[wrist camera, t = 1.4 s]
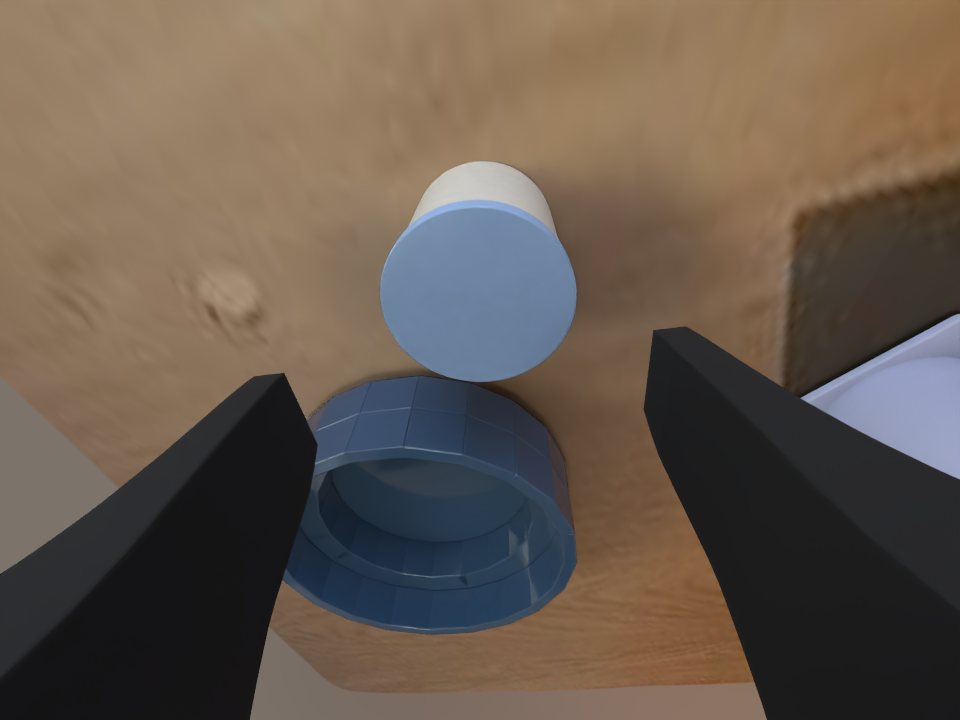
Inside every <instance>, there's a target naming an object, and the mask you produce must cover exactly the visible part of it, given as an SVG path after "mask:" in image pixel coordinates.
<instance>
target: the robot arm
mask: <svg viewBox="0 0 960 720" xmlns="http://www.w3.org/2000/svg"><path fill="white" fill-rule="evenodd" d="M644 412H645V415H646V418H647V422H648V425H649V428H650V431H651V434H652V437H653V440H654V443H655V446H656V449H657V452H658V455H659V457H660V459H661V461H662V463H663V466H664V468H665V470H666V472H667V474H668V476H669V478H670V480H671V482H672V485H673V487H674V489H675V491H676V493H677V495H678V497H679V499H680V501H681V503H682V505H683V507H684V509H685V511H686V514H687V516H688V518H689V520H690V522H691V524H692V526H693V528H694V530H695V532H696V534H697V536H698V538H699V540H700V542H701V545H702V547H703V549H704V551H705V553H706V555H707V557H708V559H709V561H710V564H711V566H712V568H713V571H714V573H715V575H716V577H717V580H718V582H719V584H720V587H721V590H722V592H723V595H724V598H725V601H726V603H727V606H728V609H729V611H730V614H731V617H732V620H733V622H734V625H735V628H736V631H737V633H738V636H739V639H740V641H741V644H742V647H743V650H744V653H745V656H746V659H747V662H748V665H749V667H750V670H751V673H752V676H753V679H754V682H755V684H756V687H757V690H758V693H759V696H760V699H761V702H762V705H763V708H764V711H765V715H766V718H767V720H960V314H957V315H954V316H952V317H950V318H948V319H946V320H944V321H943V322H941V323H939V324H937V325H935V326H933V327H931V328H930V329H928V330H926V331H924V332H922V333H920V334H918V335H917V336H915V337H913V338H911V339H909V340H907V341H905V342H904V343H902V344H900V345H898V346H896V347H894V348H892V349H891V350H889V351H887V352H885V353H883V354H881V355H879V356H878V357H876V358H874V359H872V360H870V361H868V362H866V363H865V364H863V365H861V366H859V367H857V368H855V369H853V370H852V371H850V372H848V373H846V374H844V375H842V376H840V377H839V378H837V379H835V380H833V381H831V382H829V383H827V384H826V385H824V386H822V387H820V388H818V389H816V390H814V391H813V392H811V393H809V394H807V395H805V396H803V397H801V398H799V397H798V396H796V395H794V394H793V393H791V392H789V391H788V390H786V389H784V388H783V387H781V386H780V385H778V384H776V383H775V382H773V381H771V380H770V379H768V378H767V377H765V376H763V375H762V374H760V373H759V372H757V371H756V370H754V369H752V368H751V367H749V366H748V365H746V364H745V363H743V362H741V361H740V360H738V359H737V358H735V357H734V356H732V355H731V354H729V353H728V352H726V351H725V350H723V349H721V348H720V347H718V346H717V345H715V344H714V343H712V342H711V341H709V340H708V339H706V338H704V337H703V336H701V335H700V334H698V333H696V332H695V331H693V330H691V329H690V328H688V327H678V328H669V329H660V330H653V338H652V346H651V354H650V362H649V371H648V379H647V387H646V395H645V403H644ZM317 447H318V444H317V442H316V440H315V438H314V435H313V433H312V431H311V429H310V427H309V425H308V423H307V421H306V418H305V416H304V414H303V412H302V410H301V408H300V406H299V404H298V402H297V399H296V397H295V395H294V393H293V391H292V389H291V387H290V385H289V382H288V380H287V378H286V376H285V374H284V373H280V374H271V375H263V376H254V377H253V378H251V379H250V380H249V381H247V382H246V383H245V384H243V385H242V386H241V387H240V388H238V389H237V390H236V391H235V392H234V393H232V394H231V395H230V396H229V397H228V398H226V399H225V400H224V401H223V402H222V403H221V404H219V405H218V406H217V407H216V408H215V409H214V410H212V411H211V412H210V413H209V414H208V415H207V416H206V417H204V418H203V419H202V420H201V421H200V422H199V423H197V424H196V425H195V426H194V427H193V428H192V429H190V430H189V431H188V432H187V433H186V434H185V435H184V436H182V437H181V438H180V439H179V440H178V441H177V442H175V443H174V444H173V445H172V446H171V447H170V448H168V449H167V450H166V451H165V452H164V453H163V454H161V455H160V456H159V457H158V458H157V459H155V460H154V461H153V462H152V463H150V464H149V465H148V466H147V467H145V468H144V469H143V470H142V471H140V472H139V473H138V474H137V475H135V476H134V477H133V478H132V479H131V480H129V481H128V482H127V483H126V484H124V485H123V486H122V487H121V488H119V489H118V490H117V491H116V492H115V493H113V494H112V495H111V496H109V497H108V498H107V499H106V500H104V501H103V502H102V503H101V504H99V505H98V506H97V507H95V508H94V509H93V510H91V511H90V512H89V513H88V514H86V515H85V516H83V517H82V518H81V519H79V520H78V521H77V522H75V523H74V524H72V525H71V526H70V527H68V528H67V529H65V530H64V531H63V532H62V533H60V534H58V535H57V536H56V537H54V538H53V539H52V540H50V541H48V542H47V543H46V544H44V545H43V546H41V547H40V548H38V549H37V550H36V551H34V552H33V553H31V554H30V555H28V556H27V557H26V558H24V559H22V560H21V561H20V562H18V563H17V564H15V565H13V566H12V567H10V568H9V569H7V570H6V571H4V572H3V573H1V574H0V720H250V715H251V710H252V704H253V699H254V693H255V688H256V683H257V678H258V673H259V668H260V664H261V659H262V655H263V650H264V645H265V640H266V636H267V631H268V627H269V623H270V619H271V616H272V612H273V608H274V605H275V601H276V598H277V595H278V591H279V588H280V585H281V582H282V579H283V576H284V573H285V570H286V566H287V563H288V560H289V557H290V554H291V551H292V548H293V545H294V541H295V538H296V535H297V532H298V529H299V526H300V523H301V519H302V516H303V513H304V510H305V506H306V503H307V500H308V496H309V493H310V489H311V484H312V478H313V473H314V467H315V461H316V454H317Z"/></svg>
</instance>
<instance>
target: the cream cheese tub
mask: <svg viewBox="0 0 960 720" xmlns="http://www.w3.org/2000/svg"><path fill="white" fill-rule="evenodd" d="M380 301H381V307H382V312H383V315H384V318H385V321H386V324H387V326H388V328H389V330H390V332H391V334H392V335H393V337H394V338H395V340H396V341H397V342H398V344H399V345H400V346H401V347H402V348H403V350H404V351H405V352H406V353H407V354H408V355H410V356H411V357H412V358H413V359H414V360H415V361H417V362H418V363H420V364H421V365H423V366H424V367H426V368H428V369H430V370H432V371H433V372H436V373H438V374H441V375H443V376H446V377H449V378H453V379H457V380H463V381H470V382H491V381H498V380H503V379H507V378H511V377H514V376H517V375H520V374H522V373H525V372H526V371H528V370H530V369H532V368H534V367H536V366H537V365H539V364H540V363H542V362H543V361H544V360H545V359H547V358H548V357H549V356H550V355H551V354H552V353H553V352H554V351H555V350H556V349H557V348H558V347H559V345H560V344H561V342H562V341H563V339H564V338H565V336H566V334H567V333H568V331H569V329H570V327H571V324H572V321H573V318H574V315H575V310H576V304H577V288H576V280H575V276H574V272H573V269H572V265H571V262H570V260H569V257H568V255H567V253H566V251H565V249H564V247H563V246H562V244H561V242H560V241H559V239H558V237H557V233H556V230H555V226H554V222H553V219H552V215H551V212H550V208H549V206H548V203H547V201H546V199H545V197H544V196H543V194H542V192H541V191H540V189H539V188H538V187H537V186H536V184H535V183H534V182H533V181H532V180H530V179H529V178H528V177H527V176H526V175H524V174H523V173H521V172H520V171H518V170H516V169H514V168H512V167H510V166H507V165H504V164H501V163H496V162H488V161H478V162H470V163H465V164H462V165H459V166H456V167H454V168H452V169H450V170H448V171H446V172H445V173H443V174H442V175H441V176H439V177H438V178H437V179H436V180H435V181H434V182H433V183H432V184H431V185H430V186H429V188H428V189H427V190H426V191H425V193H424V195H423V197H422V198H421V200H420V202H419V205H418V207H417V209H416V211H415V213H414V215H413V218H412V220H411V222H410V224H409V226H408V228H407V229H406V230H405V231H404V232H403V233H402V235H401V236H400V237H399V238H398V240H397V241H396V243H395V245H394V246H393V248H392V250H391V252H390V254H389V256H388V258H387V261H386V263H385V266H384V268H383V273H382V277H381V284H380Z"/></svg>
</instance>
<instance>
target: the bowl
mask: <svg viewBox="0 0 960 720" xmlns="http://www.w3.org/2000/svg"><path fill="white" fill-rule="evenodd" d="M307 423H308V425H309V427H310V429H311V431H312V433H313V435H314V438H315V440H316V442H317V444H318V447H317V454H316V461H315V467H314V473H313V478H312V484H311V489H310V493H309V496H308V500H307V503H306V506H305V510H304V513H303V516H302V519H301V523H300V526H299V529H298V532H297V535H296V538H295V541H294V545H293V548H292V551H291V554H290V557H289V560H288V563H287V566H286V570H285V573H284V576H283V579H282V580H283V581H284V582H285V583H286V584H288V585H289V586H290V587H292V588H293V589H294V590H296V591H297V592H298V593H300V594H301V595H302V596H304V597H305V598H306V599H308V600H309V601H310V602H312V603H313V604H315V605H317V606H319V607H321V608H324V609H326V610H328V611H330V612H332V613H334V614H337V615H339V616H341V617H343V618H345V619H347V620H351V621H354V622H358V623H362V624H366V625H369V626H373V627H377V628H381V629H384V630H389V631H398V632H408V633H417V634H426V635H429V634H430V635H437V634H458V633H472V632H477V631H481V630H486V629H491V628H495V627H500V626H504V625H507V624H508V625H509V624H511V623H513V622H515V621H518V620H520V619H522V618H524V617H526V616H529V615H531V614H533V613H535V612H538V611H540V610H541V609H542V608H543V607H544V606H546V605H547V604H548V603H549V602H550V601H551V600H552V599H554V598H555V597H556V596H557V595H558V594H559V593H561V592H562V591H563V590H564V589H565V587H566V585H567V583H568V581H569V579H570V577H571V575H572V573H573V571H574V568H575V566H576V564H577V553H576V540H575V530H574V524H573V517H572V510H571V504H570V497H569V490H568V484H567V477H566V470H565V464H564V458H563V456H562V454H561V452H560V451H559V449H558V447H557V445H556V444H555V442H554V440H553V439H552V437H551V435H550V433H549V432H548V430H547V428H545V426H544V425H542V424H541V423H540V422H539V421H537V420H536V419H535V418H534V417H533V416H531V415H530V414H529V413H528V412H526V411H525V410H524V409H523V408H521V407H520V406H519V405H518V404H517V403H515V402H513V400H510V399H508V398H506V397H503V396H501V395H498V394H496V393H494V392H491V391H489V390H486V389H484V388H481V387H479V386H477V385H474V384H472V383H468V382H461V381H454V380H447V379H440V378H433V377H426V376H420V377H419V376H413V377H405V378H396V379H387V380H378V381H372V382H371V381H370V382H368V383H365V384H363V385H360V386H358V387H356V388H353V389H351V390H349V391H346V392H344V393H341V394H339V395H337V396H334V397H332V398H331V399H330V400H329V401H328V402H327V403H326V404H324V405H323V406H322V407H321V408H320V409H319V410H318V411H317V412H316V413H315V414H314V415H313V416H312V417H311V418H310V419H309V420H307Z"/></svg>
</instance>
